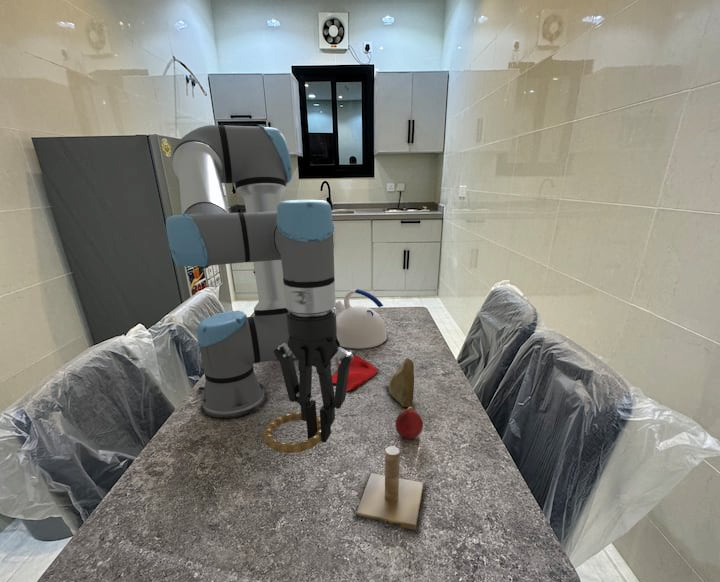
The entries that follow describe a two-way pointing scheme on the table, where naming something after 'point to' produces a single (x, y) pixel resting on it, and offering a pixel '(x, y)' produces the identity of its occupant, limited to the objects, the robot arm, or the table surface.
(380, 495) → the stand
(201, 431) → the table surface
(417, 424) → the onion
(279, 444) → the gold beaded ring
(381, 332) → the kettle
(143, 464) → the table surface
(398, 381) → the rock
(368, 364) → the cloth
